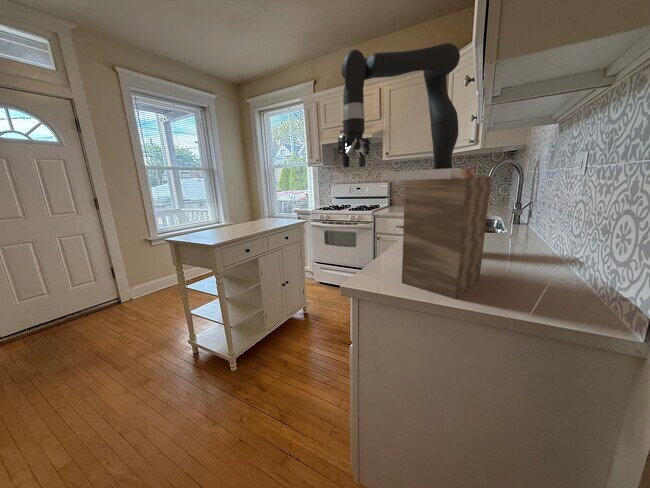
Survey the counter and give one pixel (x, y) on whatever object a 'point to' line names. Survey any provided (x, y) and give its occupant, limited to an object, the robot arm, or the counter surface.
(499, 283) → the counter surface
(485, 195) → the tall wood-grain block
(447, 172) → the gray brushed-metal block
